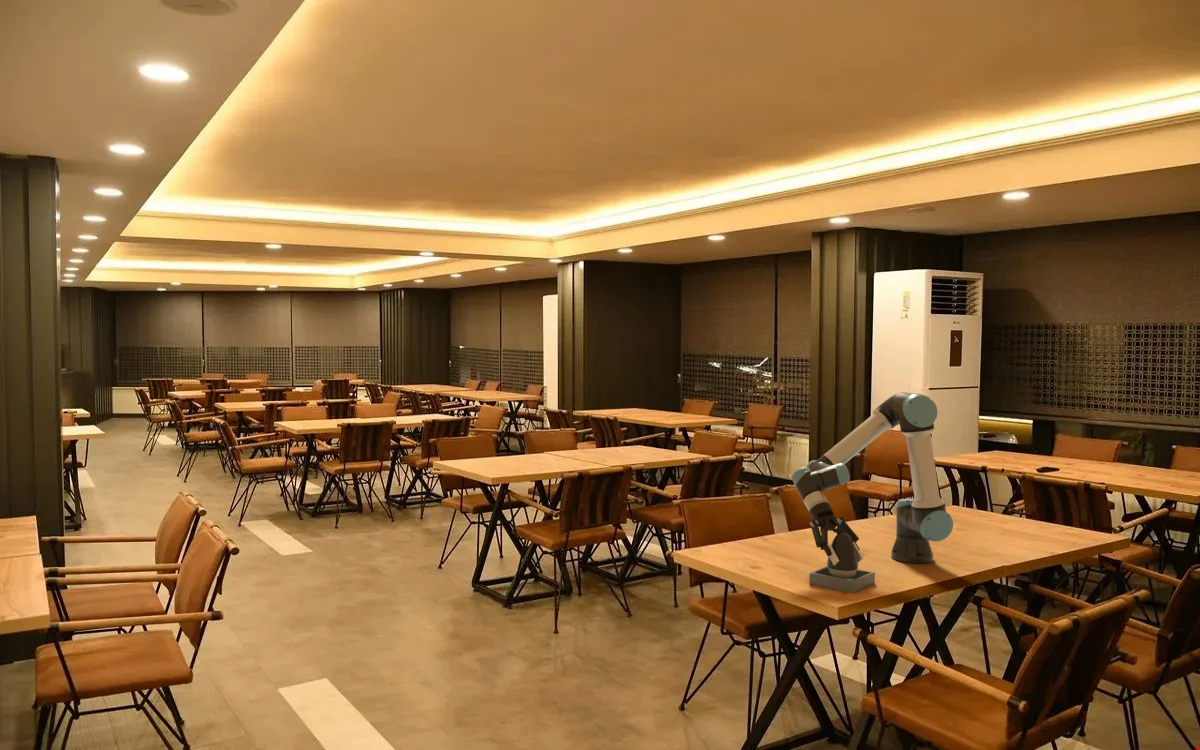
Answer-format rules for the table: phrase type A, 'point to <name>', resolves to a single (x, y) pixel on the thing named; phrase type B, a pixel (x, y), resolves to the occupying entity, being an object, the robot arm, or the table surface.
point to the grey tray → (842, 580)
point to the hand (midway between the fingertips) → (848, 561)
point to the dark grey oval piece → (843, 557)
